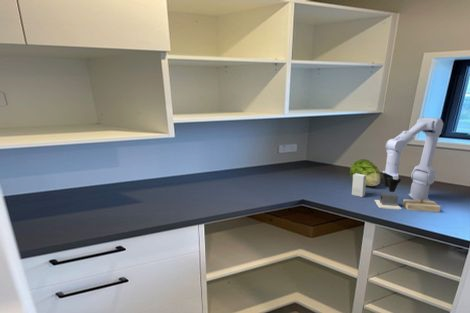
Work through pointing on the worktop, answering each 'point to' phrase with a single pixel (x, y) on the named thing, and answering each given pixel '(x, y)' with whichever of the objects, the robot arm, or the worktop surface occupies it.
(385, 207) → the tile
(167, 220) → the worktop surface
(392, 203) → the grey notched block
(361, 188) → the skincare box
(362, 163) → the lettuce
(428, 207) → the body
